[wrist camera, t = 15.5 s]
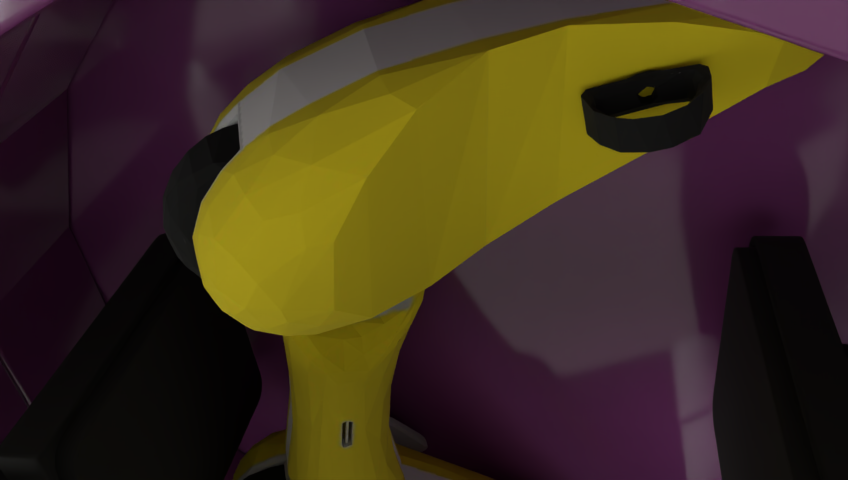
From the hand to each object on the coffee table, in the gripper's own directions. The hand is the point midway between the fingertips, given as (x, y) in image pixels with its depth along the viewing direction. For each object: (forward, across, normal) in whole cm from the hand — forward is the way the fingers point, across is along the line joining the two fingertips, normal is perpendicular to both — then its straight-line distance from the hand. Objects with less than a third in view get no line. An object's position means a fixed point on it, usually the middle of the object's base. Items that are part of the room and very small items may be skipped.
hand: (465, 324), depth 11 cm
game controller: (+1, 0, 0) cm, 1 cm away
